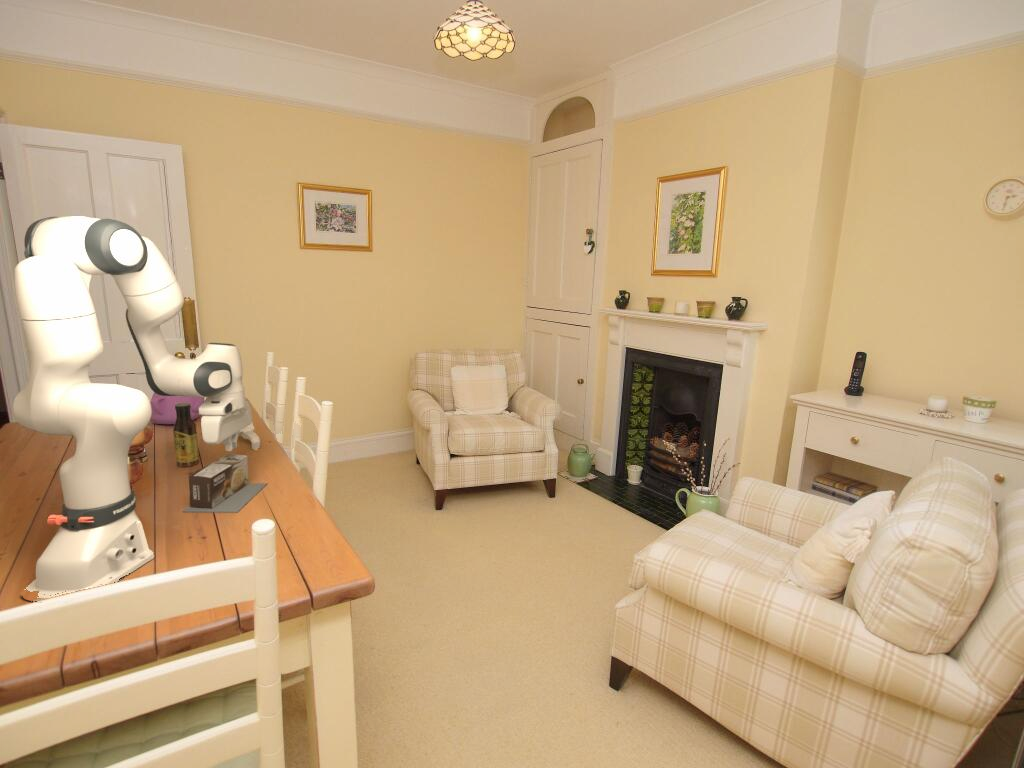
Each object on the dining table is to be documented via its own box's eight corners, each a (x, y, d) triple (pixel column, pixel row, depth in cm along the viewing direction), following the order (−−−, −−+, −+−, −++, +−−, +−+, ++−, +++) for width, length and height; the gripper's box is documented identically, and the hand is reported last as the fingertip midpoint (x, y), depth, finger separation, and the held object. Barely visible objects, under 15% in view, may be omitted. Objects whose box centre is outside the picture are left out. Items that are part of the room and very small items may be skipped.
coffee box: (226, 453, 150) (187, 473, 135) (248, 455, 150) (211, 476, 134) (227, 482, 152) (189, 506, 137) (248, 485, 152) (212, 509, 136)
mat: (237, 512, 135) (237, 511, 135) (182, 512, 135) (182, 511, 135) (267, 484, 153) (267, 483, 153) (218, 483, 152) (218, 482, 152)
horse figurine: (233, 458, 196) (250, 451, 177) (225, 416, 197) (240, 404, 178) (248, 456, 199) (265, 448, 180) (239, 414, 200) (256, 402, 181)
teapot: (135, 429, 199) (129, 391, 196) (172, 414, 220) (168, 379, 217) (193, 431, 198) (188, 392, 195) (225, 416, 219) (221, 380, 216)
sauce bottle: (172, 465, 165) (164, 404, 161) (192, 459, 171) (185, 400, 166) (184, 469, 162) (177, 407, 158) (204, 463, 168) (197, 403, 163)
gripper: (233, 392, 153) (237, 437, 156) (194, 410, 133) (199, 462, 136) (255, 393, 153) (259, 438, 156) (219, 410, 133) (224, 462, 136)
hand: (231, 449), depth 146 cm, fingers closed
